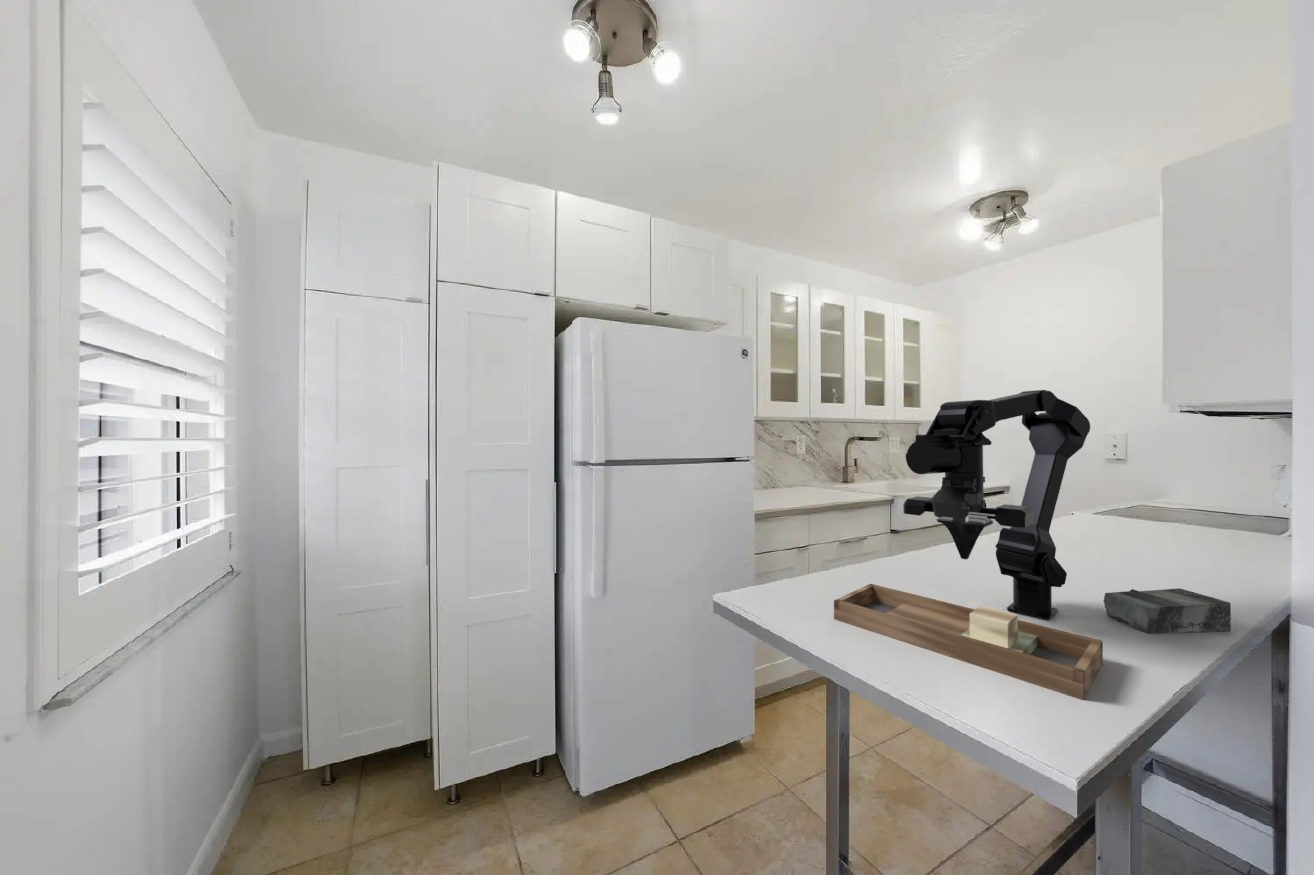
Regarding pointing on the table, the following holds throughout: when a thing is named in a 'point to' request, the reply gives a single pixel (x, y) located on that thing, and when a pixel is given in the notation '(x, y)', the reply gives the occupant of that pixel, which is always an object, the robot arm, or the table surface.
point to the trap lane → (947, 631)
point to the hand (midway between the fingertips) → (964, 558)
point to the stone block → (1169, 611)
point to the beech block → (994, 626)
